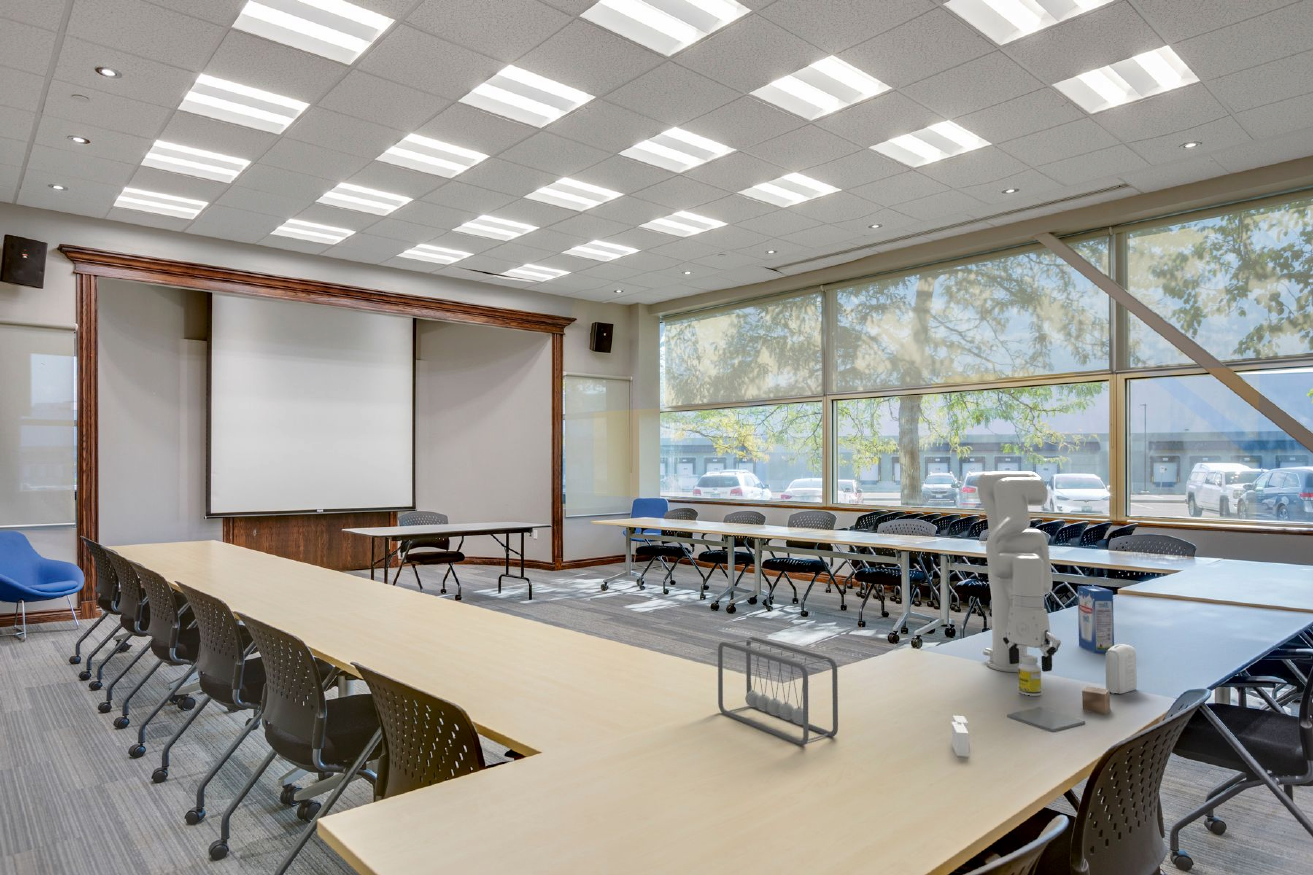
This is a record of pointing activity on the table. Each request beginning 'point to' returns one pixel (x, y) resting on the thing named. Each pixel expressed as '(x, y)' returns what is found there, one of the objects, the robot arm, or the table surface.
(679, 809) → the table surface
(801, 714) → the newton's cradle
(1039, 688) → the supplement bottle
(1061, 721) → the slate coaster
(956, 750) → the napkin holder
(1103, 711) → the walnut block
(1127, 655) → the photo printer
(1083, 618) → the milk carton
